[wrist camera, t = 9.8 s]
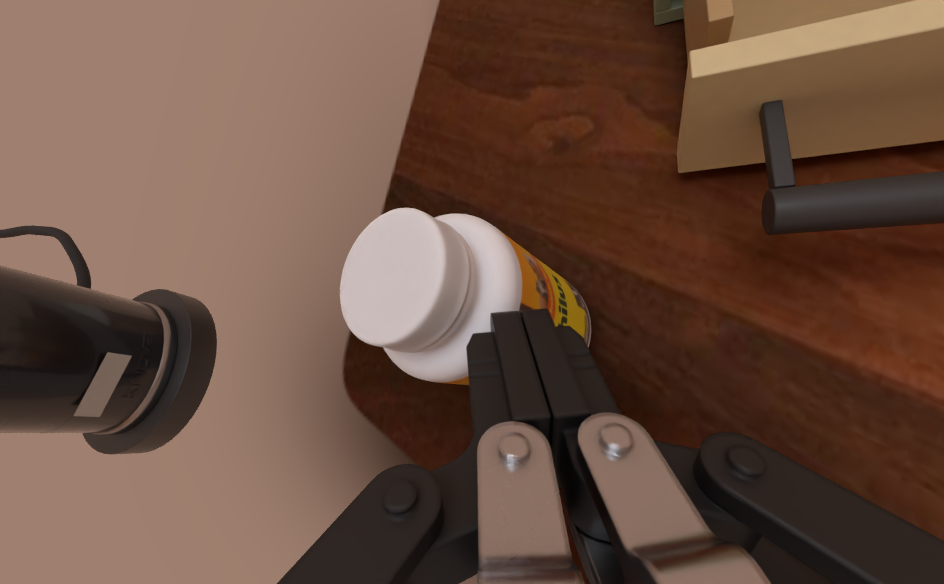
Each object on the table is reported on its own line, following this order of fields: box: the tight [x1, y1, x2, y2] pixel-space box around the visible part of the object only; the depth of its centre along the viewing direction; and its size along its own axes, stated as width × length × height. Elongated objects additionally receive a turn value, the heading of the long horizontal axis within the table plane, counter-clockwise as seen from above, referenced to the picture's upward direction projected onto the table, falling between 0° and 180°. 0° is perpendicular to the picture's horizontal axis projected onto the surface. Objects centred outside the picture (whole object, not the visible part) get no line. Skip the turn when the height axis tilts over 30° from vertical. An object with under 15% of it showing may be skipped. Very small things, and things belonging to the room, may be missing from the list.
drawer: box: [677, 0, 944, 235], centre depth 15 cm, size 18×11×6 cm, turn 174°
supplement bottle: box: [340, 208, 591, 385], centre depth 15 cm, size 6×6×10 cm
